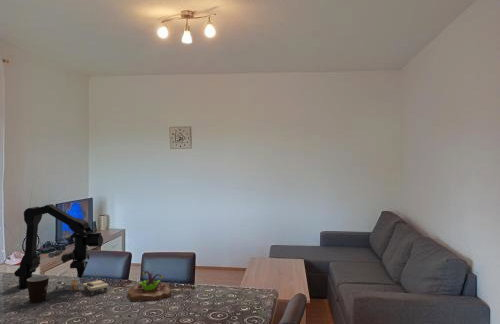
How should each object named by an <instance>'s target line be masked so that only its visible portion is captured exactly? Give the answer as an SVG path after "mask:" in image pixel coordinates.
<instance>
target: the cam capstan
mask: <svg viewBox="0 0 500 324" xmlns="http://www.w3.org/2000/svg"><path fill="white" fill-rule="evenodd" d="M77 282H78V281H77V279H72V281H71V283H68V282H67V281H66V280H60V281H59V280H58V281H55V282H53V283H52V292H53V293H62V292H65V291H70V290H73V291H72V292H75V291H74V290H77V289H78V288H77V287H78V284H77Z"/></svg>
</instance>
